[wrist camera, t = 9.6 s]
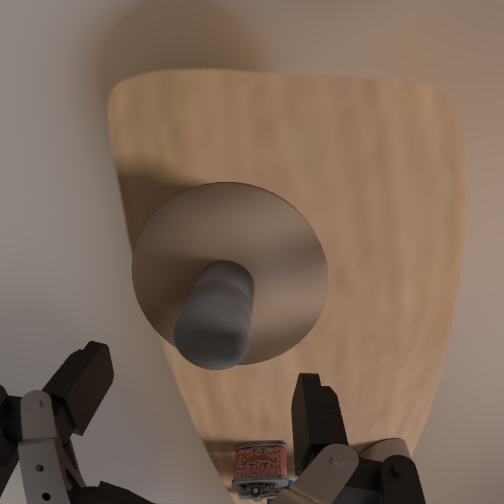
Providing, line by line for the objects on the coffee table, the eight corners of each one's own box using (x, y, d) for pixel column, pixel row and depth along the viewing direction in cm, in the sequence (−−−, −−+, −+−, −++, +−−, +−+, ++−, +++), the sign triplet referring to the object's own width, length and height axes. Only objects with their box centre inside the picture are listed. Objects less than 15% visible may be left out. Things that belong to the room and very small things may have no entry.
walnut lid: (356, 304, 20) (388, 366, 14) (210, 378, 23) (195, 445, 17) (255, 140, 17) (248, 133, 11) (104, 252, 20) (48, 294, 13)
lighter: (238, 453, 41) (233, 504, 31) (233, 442, 40) (227, 495, 30) (288, 449, 40) (290, 501, 30) (285, 438, 39) (287, 492, 29)
